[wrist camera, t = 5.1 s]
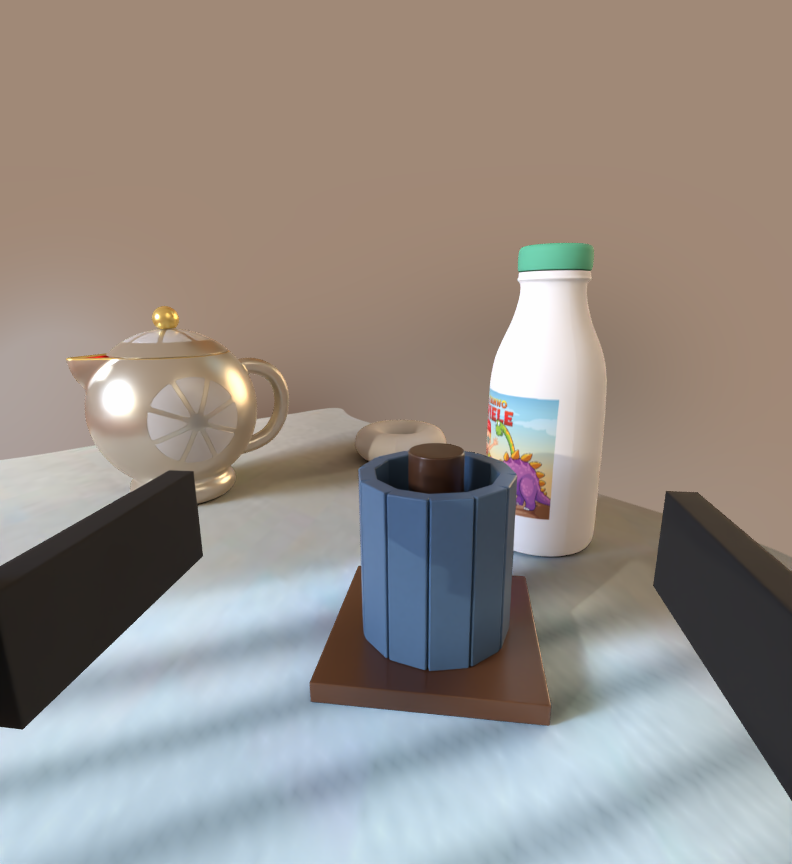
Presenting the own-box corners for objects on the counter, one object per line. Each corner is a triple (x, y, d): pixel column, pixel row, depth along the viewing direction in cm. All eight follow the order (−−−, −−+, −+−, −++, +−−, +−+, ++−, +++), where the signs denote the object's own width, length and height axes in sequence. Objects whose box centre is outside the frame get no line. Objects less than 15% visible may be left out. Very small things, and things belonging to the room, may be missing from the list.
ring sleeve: (519, 599, 28) (528, 458, 26) (486, 689, 21) (494, 511, 19) (397, 572, 30) (396, 443, 28) (336, 645, 24) (329, 485, 22)
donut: (432, 443, 62) (349, 446, 60) (432, 415, 61) (349, 417, 59) (457, 468, 53) (361, 473, 51) (459, 436, 52) (361, 440, 50)
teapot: (102, 541, 37) (64, 308, 33) (83, 487, 48) (52, 306, 44) (324, 488, 47) (316, 304, 43) (267, 453, 58) (256, 304, 54)
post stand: (524, 590, 30) (534, 427, 28) (550, 726, 21) (568, 494, 18) (358, 580, 32) (353, 422, 29) (310, 702, 22) (297, 483, 20)
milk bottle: (558, 509, 42) (578, 251, 37) (616, 553, 35) (650, 239, 30) (468, 517, 40) (476, 250, 35) (509, 566, 33) (526, 237, 28)
